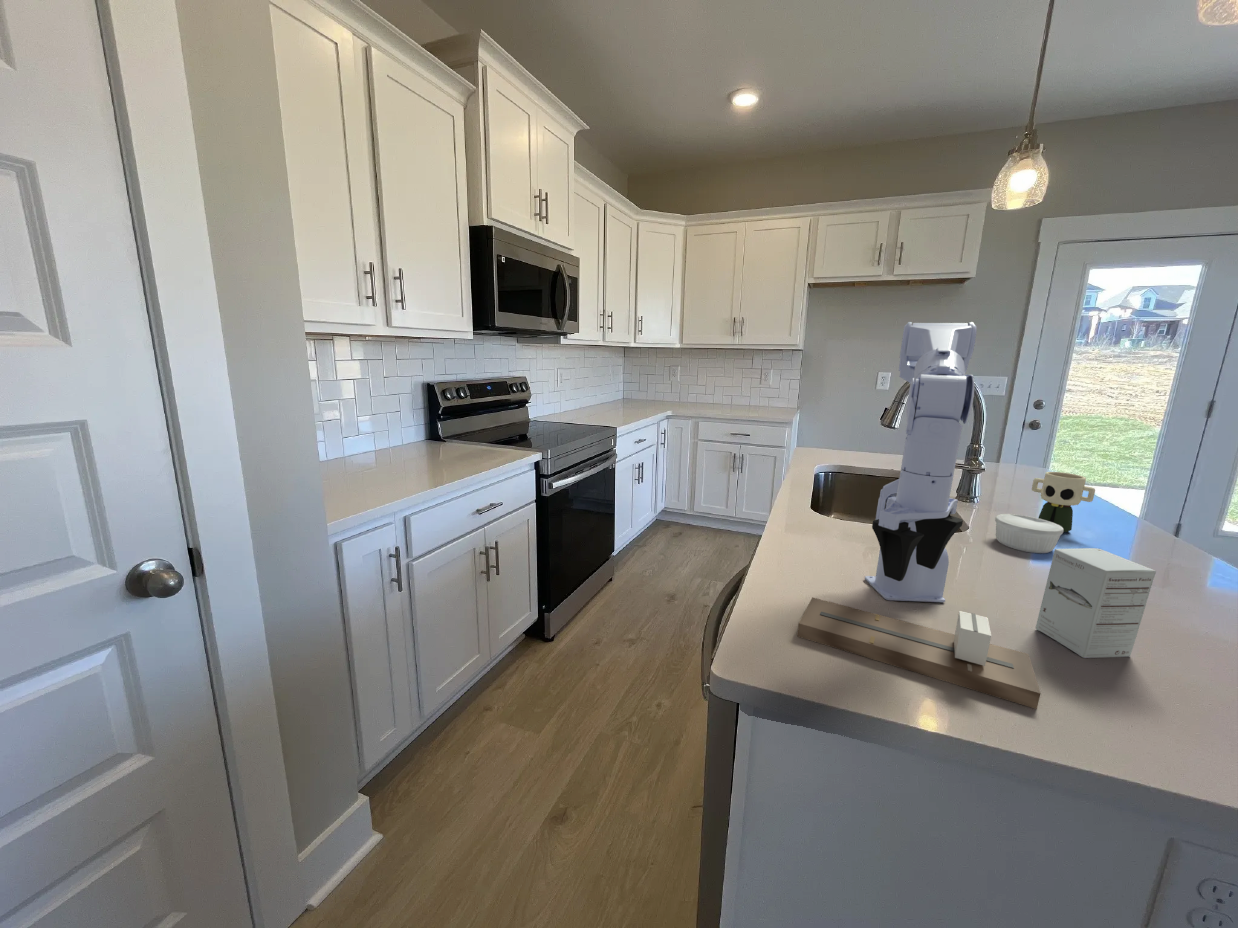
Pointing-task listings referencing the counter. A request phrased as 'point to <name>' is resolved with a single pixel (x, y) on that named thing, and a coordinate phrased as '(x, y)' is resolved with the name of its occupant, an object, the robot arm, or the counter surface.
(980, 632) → the fader knob
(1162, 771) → the counter surface
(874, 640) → the fader board
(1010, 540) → the ramekin
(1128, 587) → the supplement box
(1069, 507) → the character mug
